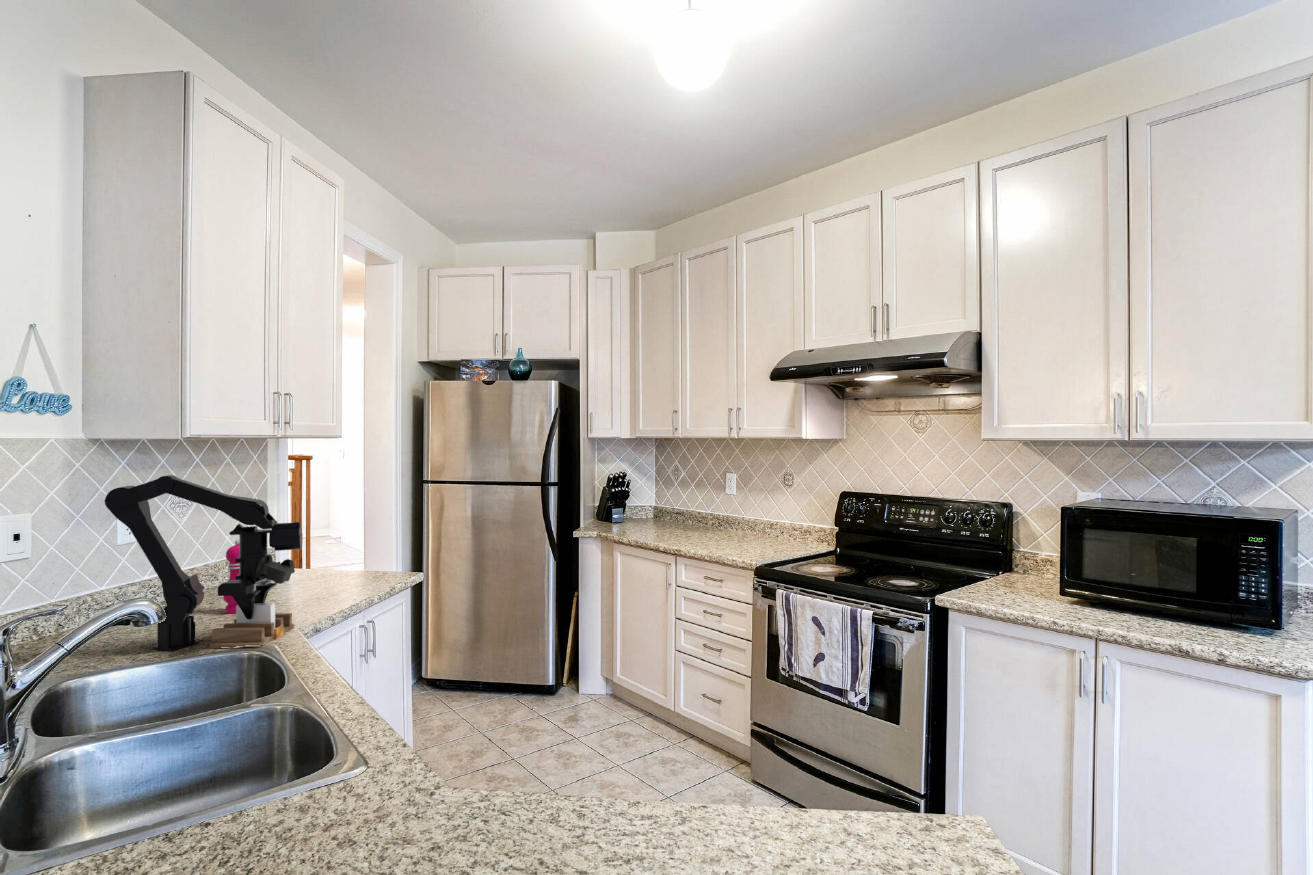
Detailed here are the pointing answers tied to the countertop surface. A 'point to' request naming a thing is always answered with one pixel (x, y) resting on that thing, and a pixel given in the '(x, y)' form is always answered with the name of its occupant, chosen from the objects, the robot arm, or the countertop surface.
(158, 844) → the countertop surface
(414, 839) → the countertop surface
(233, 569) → the pepper mill
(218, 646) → the rack
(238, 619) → the panel
